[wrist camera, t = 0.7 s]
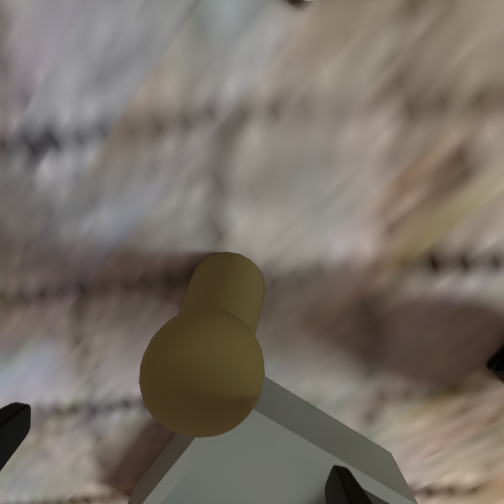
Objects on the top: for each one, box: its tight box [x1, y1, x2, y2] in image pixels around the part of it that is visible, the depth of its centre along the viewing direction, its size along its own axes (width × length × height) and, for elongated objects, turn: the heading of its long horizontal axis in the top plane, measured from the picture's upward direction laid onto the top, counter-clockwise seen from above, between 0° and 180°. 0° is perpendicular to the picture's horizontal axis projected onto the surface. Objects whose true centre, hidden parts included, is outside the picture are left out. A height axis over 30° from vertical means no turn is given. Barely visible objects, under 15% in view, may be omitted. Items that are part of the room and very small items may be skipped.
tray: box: [128, 376, 418, 504], centre depth 22 cm, size 18×18×4 cm
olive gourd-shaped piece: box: [139, 252, 265, 438], centre depth 14 cm, size 6×6×11 cm
